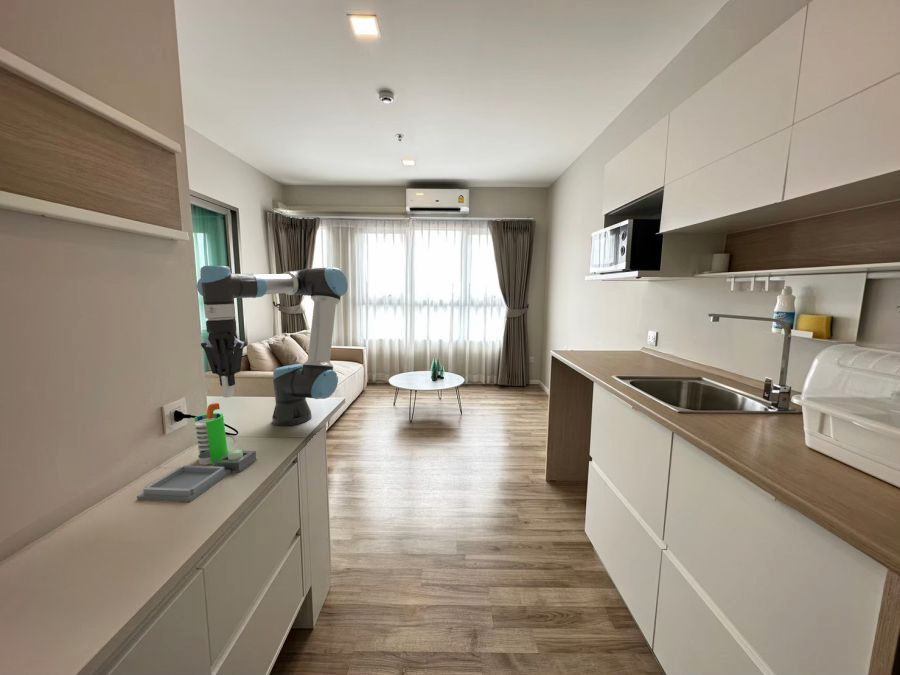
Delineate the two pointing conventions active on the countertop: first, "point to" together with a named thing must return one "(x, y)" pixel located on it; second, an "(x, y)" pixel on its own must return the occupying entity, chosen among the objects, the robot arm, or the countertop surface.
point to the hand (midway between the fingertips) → (229, 396)
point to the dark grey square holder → (236, 461)
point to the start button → (235, 454)
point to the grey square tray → (184, 483)
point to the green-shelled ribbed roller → (211, 435)
